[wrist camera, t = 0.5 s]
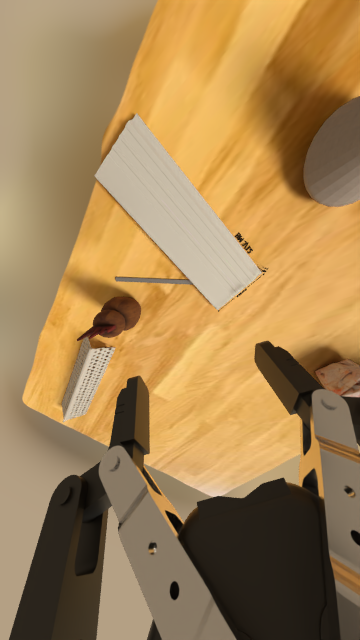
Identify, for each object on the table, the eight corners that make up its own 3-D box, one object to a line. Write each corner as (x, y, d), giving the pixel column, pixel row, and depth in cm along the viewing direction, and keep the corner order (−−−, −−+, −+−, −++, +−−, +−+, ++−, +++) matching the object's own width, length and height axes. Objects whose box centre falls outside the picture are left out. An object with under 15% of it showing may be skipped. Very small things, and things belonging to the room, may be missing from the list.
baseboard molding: (145, 108, 24) (99, 180, 28) (138, 90, 22) (89, 172, 25) (266, 266, 31) (216, 308, 35) (273, 268, 28) (218, 312, 32)
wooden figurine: (114, 314, 38) (66, 350, 24) (117, 290, 35) (65, 314, 22) (142, 322, 38) (111, 362, 24) (147, 299, 36) (115, 328, 22)
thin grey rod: (115, 277, 34) (115, 277, 34) (207, 280, 33) (207, 281, 33) (116, 281, 35) (115, 281, 34) (207, 284, 33) (207, 285, 33)
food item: (307, 369, 38) (340, 406, 29) (342, 350, 36) (391, 384, 27) (335, 403, 41) (374, 446, 32) (370, 388, 39) (423, 430, 30)
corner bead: (85, 330, 41) (71, 340, 36) (118, 347, 42) (108, 358, 37) (61, 401, 52) (48, 415, 47) (88, 413, 53) (77, 428, 48)
